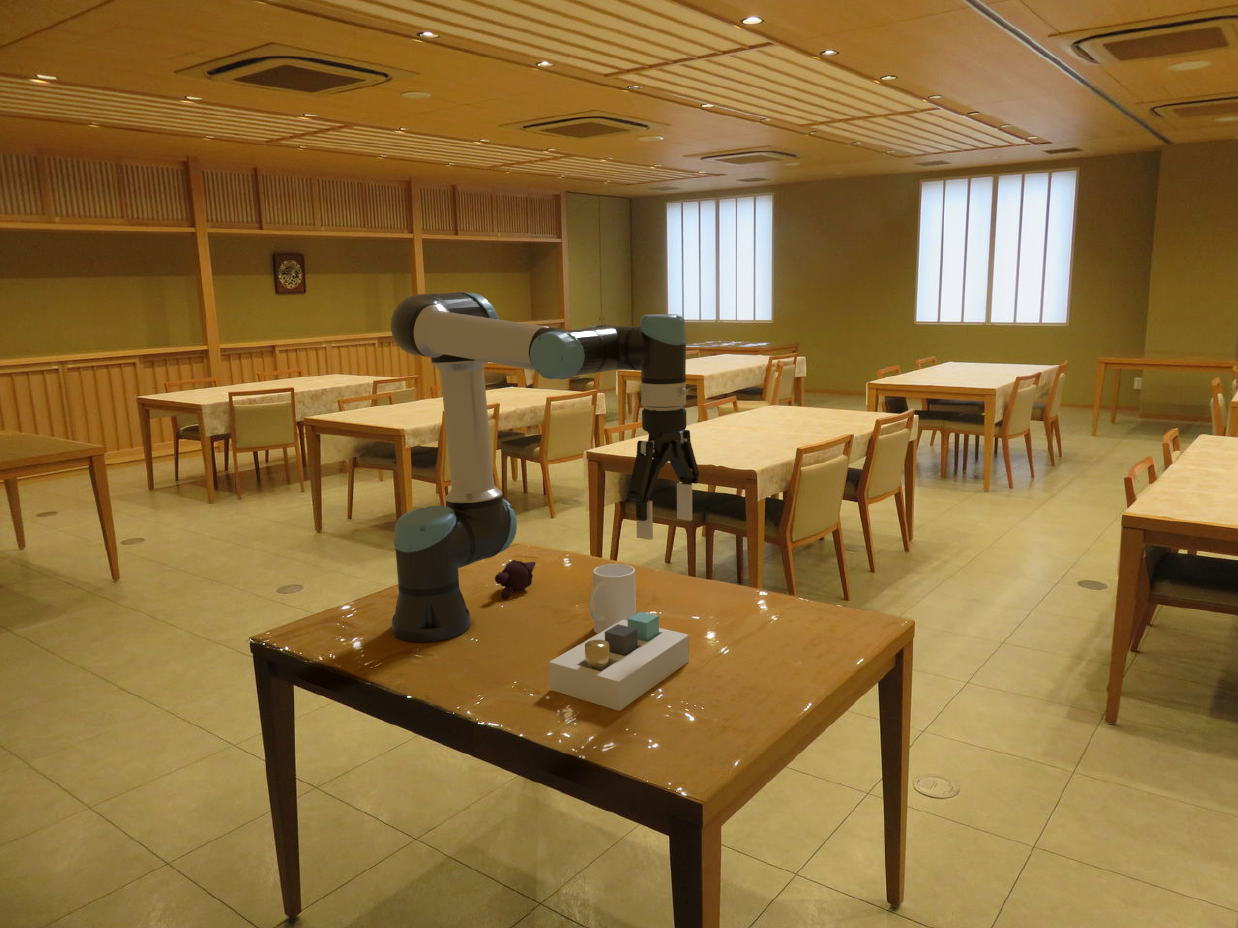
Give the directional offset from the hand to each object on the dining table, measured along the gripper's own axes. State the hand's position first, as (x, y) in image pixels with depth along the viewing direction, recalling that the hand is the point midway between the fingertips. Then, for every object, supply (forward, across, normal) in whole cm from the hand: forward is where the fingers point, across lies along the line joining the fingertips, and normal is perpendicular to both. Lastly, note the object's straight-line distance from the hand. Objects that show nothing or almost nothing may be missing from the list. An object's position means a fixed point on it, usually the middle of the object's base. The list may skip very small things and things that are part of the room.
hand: (665, 528), depth 157 cm
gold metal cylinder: (+20, -17, +3) cm, 27 cm away
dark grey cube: (+20, -10, +3) cm, 23 cm away
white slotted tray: (+24, -10, +3) cm, 26 cm away
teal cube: (+21, -3, +3) cm, 21 cm away
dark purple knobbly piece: (+24, +15, +47) cm, 55 cm away
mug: (+24, +6, +16) cm, 30 cm away
